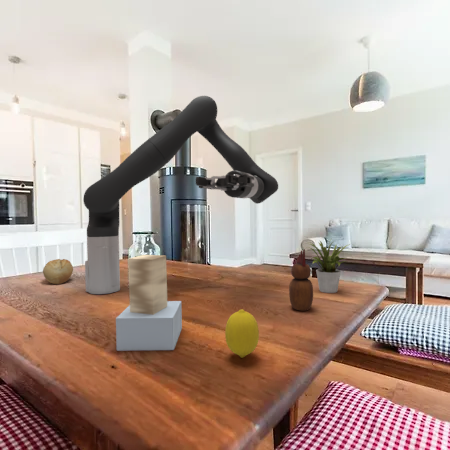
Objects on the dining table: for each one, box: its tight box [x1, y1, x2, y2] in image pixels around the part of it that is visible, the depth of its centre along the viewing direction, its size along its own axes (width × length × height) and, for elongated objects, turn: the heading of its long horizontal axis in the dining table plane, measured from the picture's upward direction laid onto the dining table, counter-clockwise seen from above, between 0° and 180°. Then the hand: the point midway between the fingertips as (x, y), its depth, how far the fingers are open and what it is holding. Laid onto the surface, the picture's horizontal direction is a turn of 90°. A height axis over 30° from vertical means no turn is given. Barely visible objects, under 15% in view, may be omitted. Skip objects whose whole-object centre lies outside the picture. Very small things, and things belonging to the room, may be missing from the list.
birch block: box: [127, 254, 168, 315], centre depth 57 cm, size 5×5×10 cm
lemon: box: [224, 308, 260, 359], centre depth 50 cm, size 6×6×8 cm
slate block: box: [115, 300, 183, 352], centre depth 58 cm, size 10×10×6 cm
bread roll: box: [42, 258, 74, 285], centre depth 110 cm, size 10×15×8 cm, turn 34°
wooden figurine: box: [288, 248, 314, 312], centre depth 75 cm, size 7×6×15 cm
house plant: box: [305, 239, 351, 294], centre depth 92 cm, size 14×14×16 cm
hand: (211, 179), depth 73 cm, fingers open, 8 cm apart
